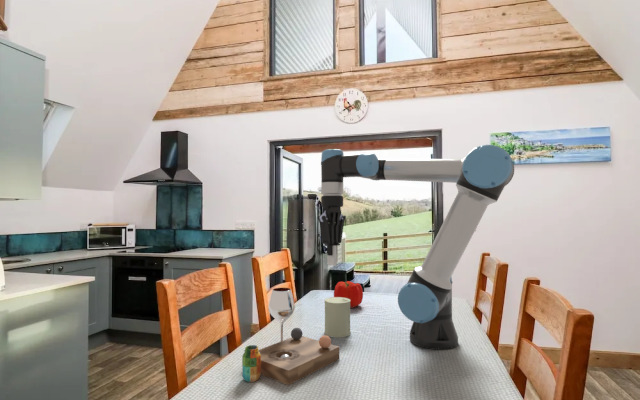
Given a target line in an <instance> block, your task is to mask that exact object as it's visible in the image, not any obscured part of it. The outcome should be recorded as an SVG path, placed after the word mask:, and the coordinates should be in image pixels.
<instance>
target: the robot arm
mask: <svg viewBox="0 0 640 400" xmlns="http://www.w3.org/2000/svg"><path fill="white" fill-rule="evenodd" d="M320 166H321V169H320V170H321V171H320V172H321V175H320V176H321V177H320V178H321V179H320V180H321V185H320V186H321V189H320V191H321V192H320V193H321V195H322V196H321V198H320V202H321V203H320V205H321V207H322V208H323V210H322V214H320V215H318V216H317V219H318V222H319V228H320V234H321V240H322V244H323V245H324V246H326V254H327V266H337V262H338V261H337V260H338V258H337V257H338V246H340V245H341V243H342V240H343V239H342V238H343V232H344V227H345V226H344V225H345V221H346V218H347V217H346V215H343V214H342V210H341V209H342V208H343V207H344V196H342V195H343V194H344V178H362V179H369V180H372V181H405V182H407V181H408V182H426V183H427V182H428V183H430V182H431V183H432V182H433V183H455V186H456V189H457V194H456V196H455V198H454V200H453V202H452V204H451V206H450V208H449V210H448V212H447V214H446V216H445V218H444V220H443V222H442V224H441V226H440V228H439V231H438V233H437V234H436V236H435V238H434V240H433V242H432V244H431V246H430V249H429V251H428V252H427V255H426V257H425V258H424V260H423V263H422V264H421V265H418V266H416V267H414V269H413V271H412V273H411V275H410V277H409V279H408V280H407V282H406V283H405V284H404V285H403V286H402V287H401V288H400V290H399V292H398V296H397V304H398V307H399V310H400V311H401V313H402V314H403V316H404V317H405V318H407V319H408V320H409V321H411V322H412V324H411V326H410V327H411V328H410V331H409V341H410V343H412V344H413V345H416V346H417V347H421V348H425V349H430V350H431V349H432V350H450V349H454V348H456V347H457V346H458V345H459V336H458V333H457V330H456V327H455V325H454V321H453V279H452V276H453V274H454V272H455V270H456V269H457V266H458V264H459V263H460V260H461V258H462V256H463V255H464V253H465V251H466V249H467V247H468V245H469V243H470V241H471V239H472V237H473V235H474V233H475V231H476V230H477V227H478V225H479V224H480V222H481V220H482V217H483V216H484V214H485V211H486V210H487V208H488V206H489V205H491V204H494V203H497V202H498V199H500V196H501V194H502V192H503V190H504V189H505V187H506V186H507V185H509V183H511V181H512V179H513V178H514V175H515V165H514V162H513V160H512V157H511V155H510V154H509V153H508V151H506V150H505V149H503V148H502V147H500V146H497V145H493V144H483V145H479V146H476V147H474V148H473V149H472V150H470V151H469V152H468V153H467V154H466V156H465V157H464V158H460V159H459V158H378V157H377V155H376V154H375V153H374V152H367V153H366V152H362V153H353V154H344V151H343V150H342V149H337V148H334V149H331V148H329V149H324V150H322V152H321V160H320ZM341 207H342V208H341Z"/></svg>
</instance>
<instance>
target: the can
mask: <svg viewBox="0 0 640 400" xmlns="http://www.w3.org/2000/svg"><path fill="white" fill-rule="evenodd" d="M350 301H351V300H350V299H348V298H343V297H334V296H331V297H327V298H325V299H324V332H323V333H324V335H326V336H329V337H331V338H338V339H339V338H346V337H349V336H350V335H351V308H350Z"/></svg>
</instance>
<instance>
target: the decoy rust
mask: <svg viewBox="0 0 640 400" xmlns="http://www.w3.org/2000/svg"><path fill="white" fill-rule="evenodd" d="M318 341H319V345H320V346H321V347H322V348H328V347H329V346H330V345H331V344H332V338H330V336H327V335H325V334H324V335H322V336H320V337H319V339H318Z"/></svg>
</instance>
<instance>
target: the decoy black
mask: <svg viewBox="0 0 640 400" xmlns="http://www.w3.org/2000/svg"><path fill="white" fill-rule="evenodd" d="M290 336H291V337H290V338H293V339H294V340H299V339H300V338H301V337H302V336H303V331H302V329H301V328H300V327H295V328H293V329H292V330H291V332H290Z"/></svg>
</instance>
